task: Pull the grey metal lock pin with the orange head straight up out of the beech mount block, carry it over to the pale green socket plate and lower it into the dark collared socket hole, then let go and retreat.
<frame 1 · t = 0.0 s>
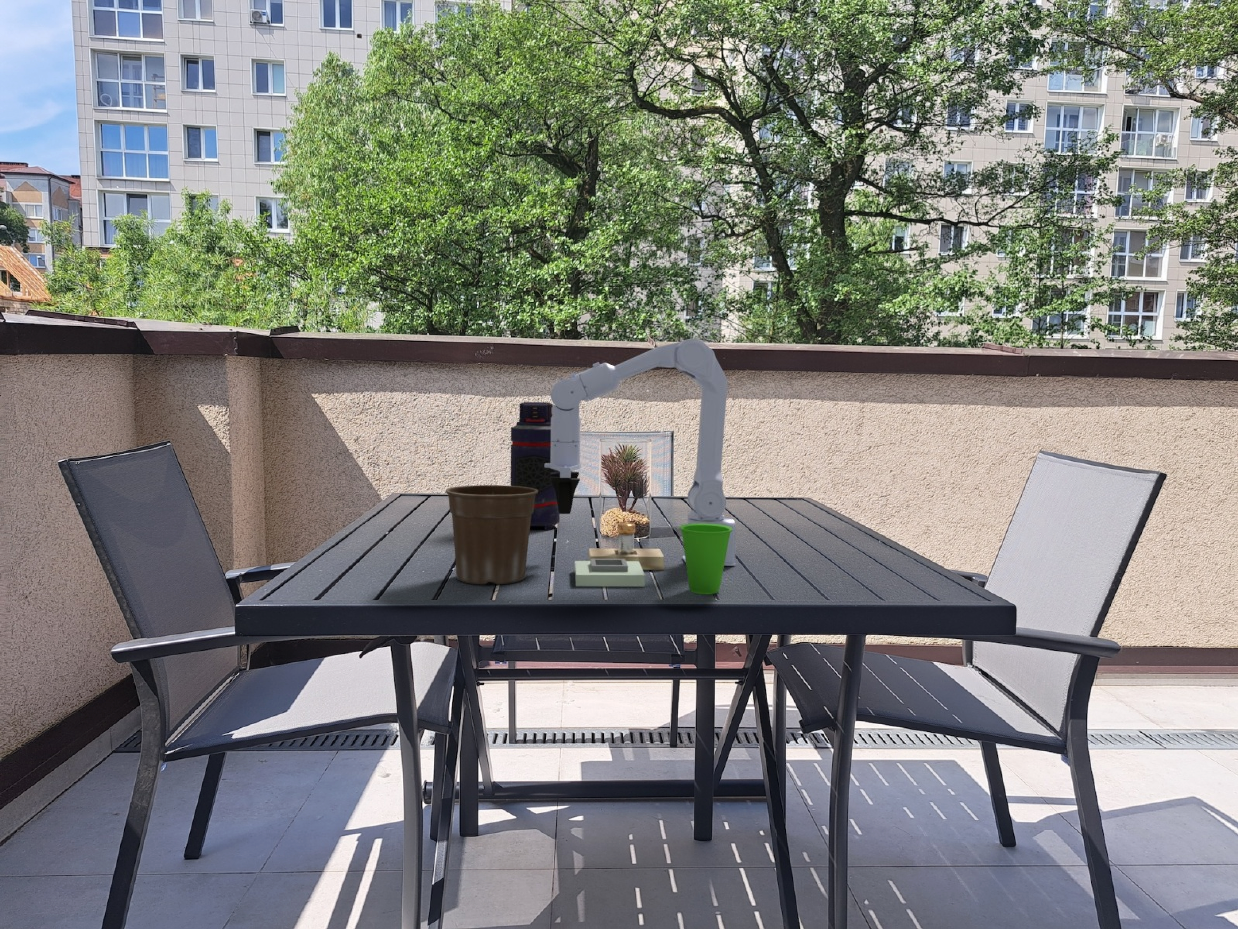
hand: (564, 510, 178), 10 cm above the table, fingers open, 7 cm apart
plant pot: (491, 579, 163), on the table
socket: (608, 578, 164), on the table
pin: (626, 544, 176), in the mount
red-banded navy canister: (535, 526, 220), on the table
cup: (704, 591, 156), on the table
mount: (625, 565, 176), on the table
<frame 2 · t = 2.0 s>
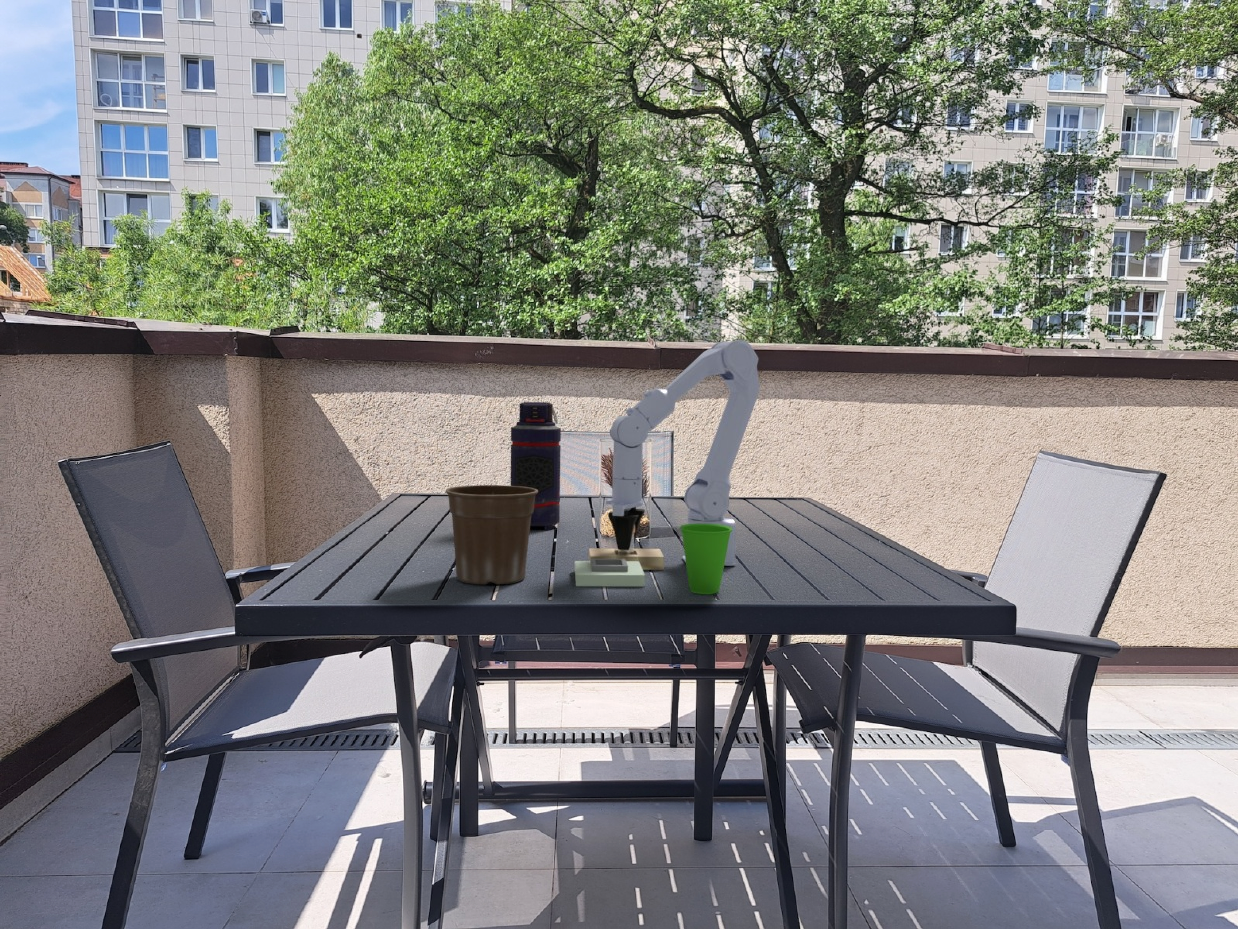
hand: (625, 547, 176), 3 cm above the table, fingers closed on pin, 3 cm apart
pin: (626, 544, 176), in the mount, touching gripper
everything else where it was.
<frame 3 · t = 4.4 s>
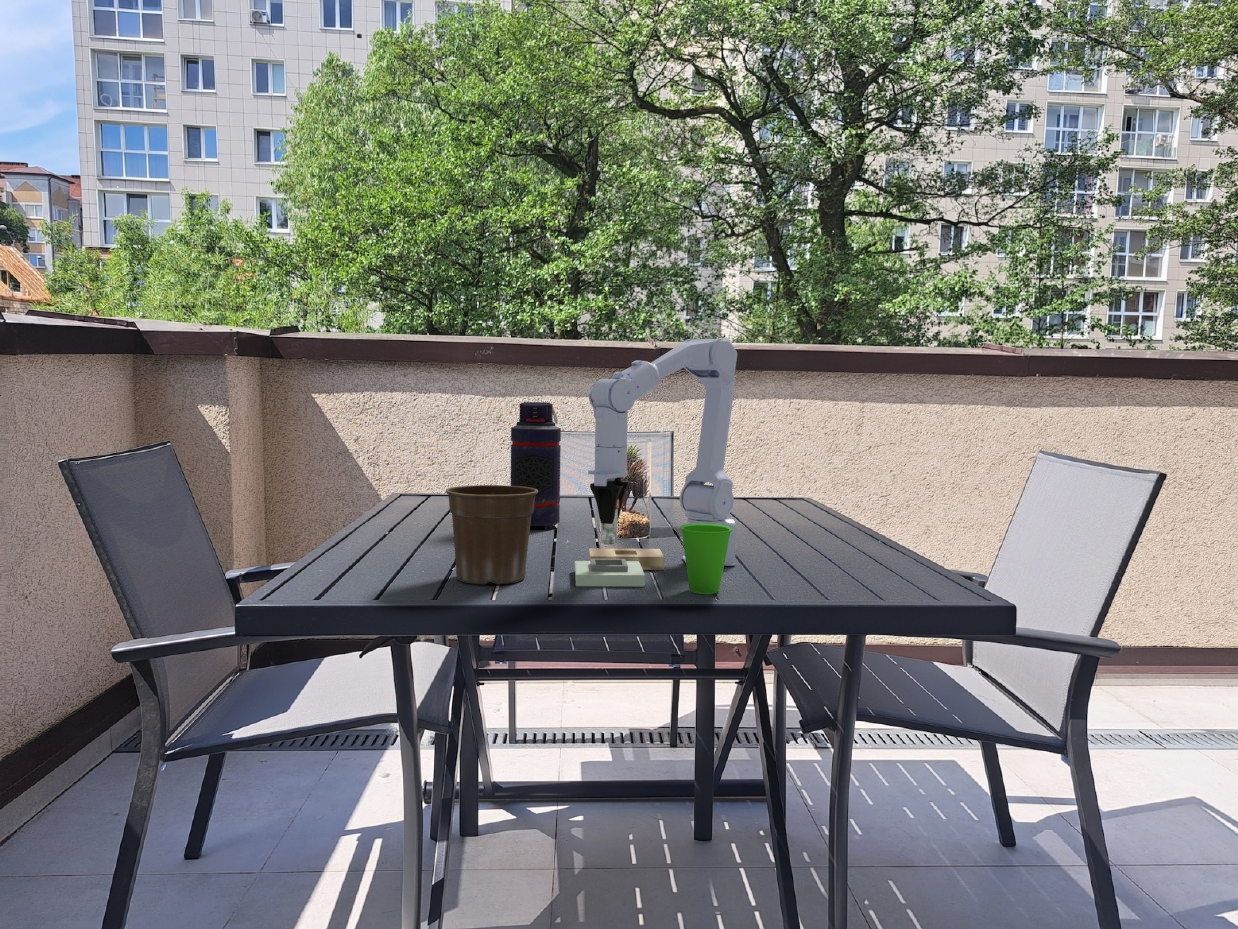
hand: (609, 521, 163), 10 cm above the table, fingers closed on pin, 3 cm apart
pin: (609, 520, 163), point 10 cm above the table, touching gripper
everything else where it was.
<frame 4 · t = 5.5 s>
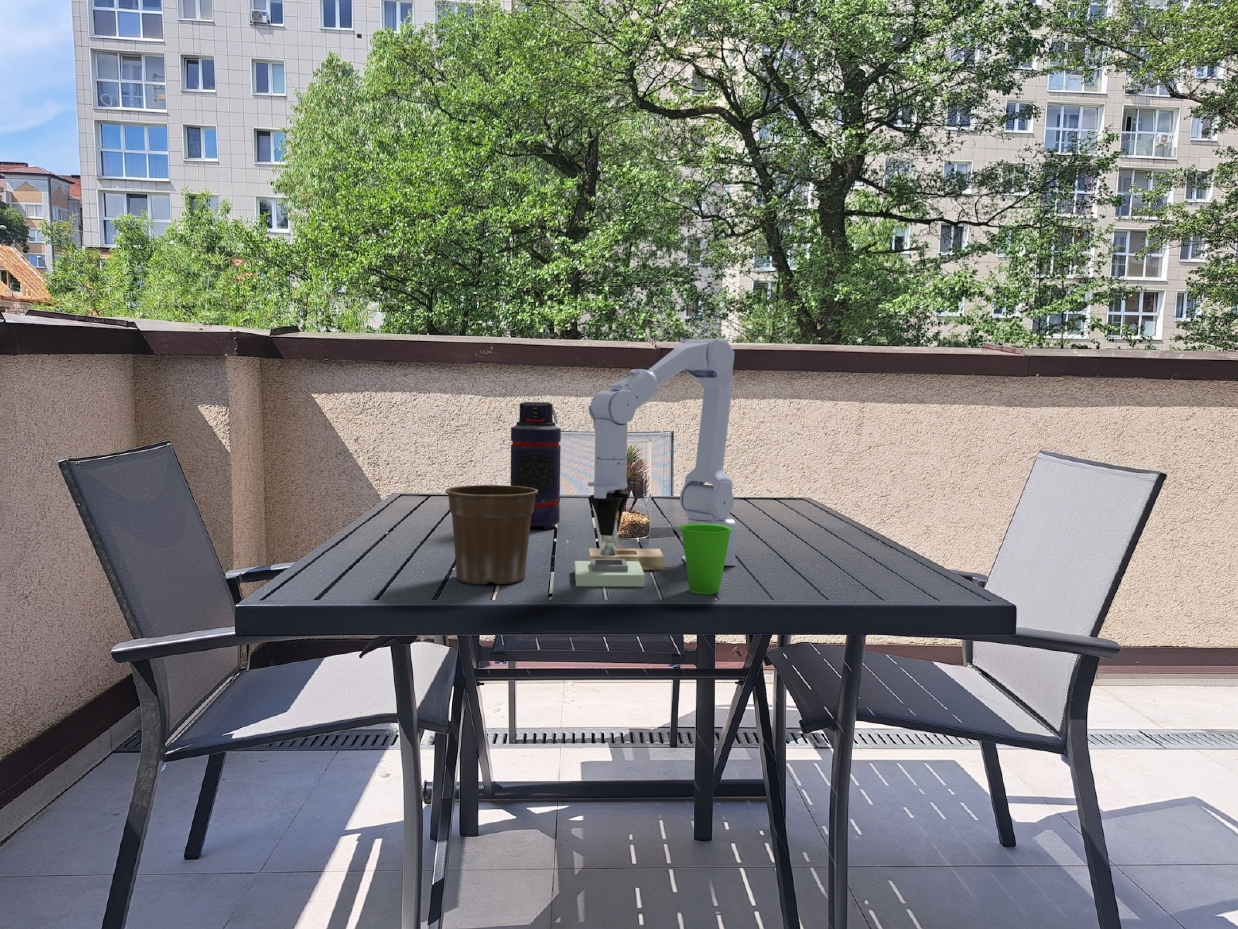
hand: (609, 533, 163), 8 cm above the table, fingers closed on pin, 3 cm apart
pin: (608, 532, 163), point 8 cm above the table, touching gripper
everything else where it was.
when the fingers open (4 cm above the table, at t = 6.7 s): pin stays where it is, resting in socket.
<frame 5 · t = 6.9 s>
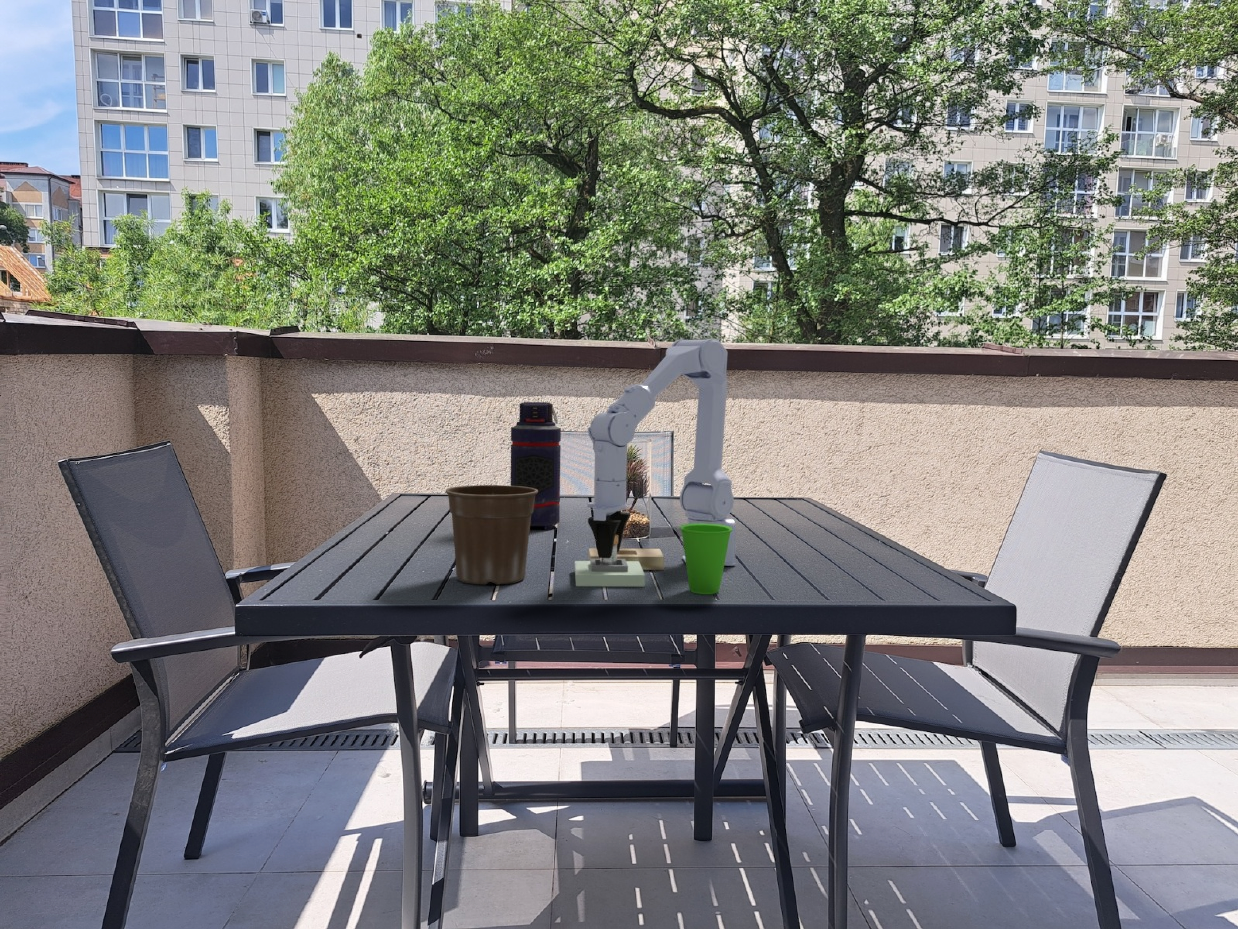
hand: (609, 554, 164), 4 cm above the table, fingers open, 5 cm apart
pin: (608, 556, 164), in the socket
everything else where it was.
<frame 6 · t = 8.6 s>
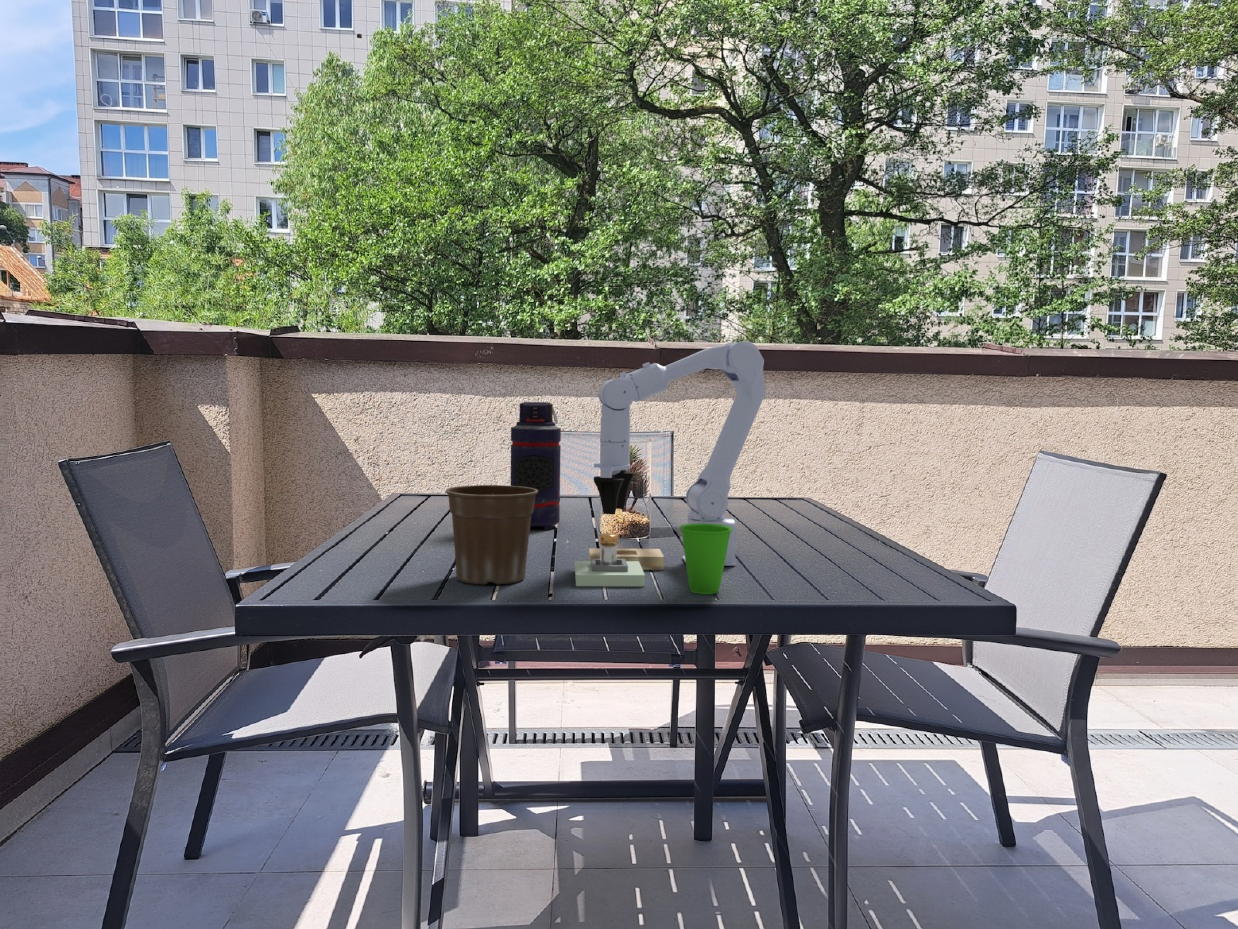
hand: (613, 511, 176), 10 cm above the table, fingers open, 7 cm apart
nothing on the table moved.
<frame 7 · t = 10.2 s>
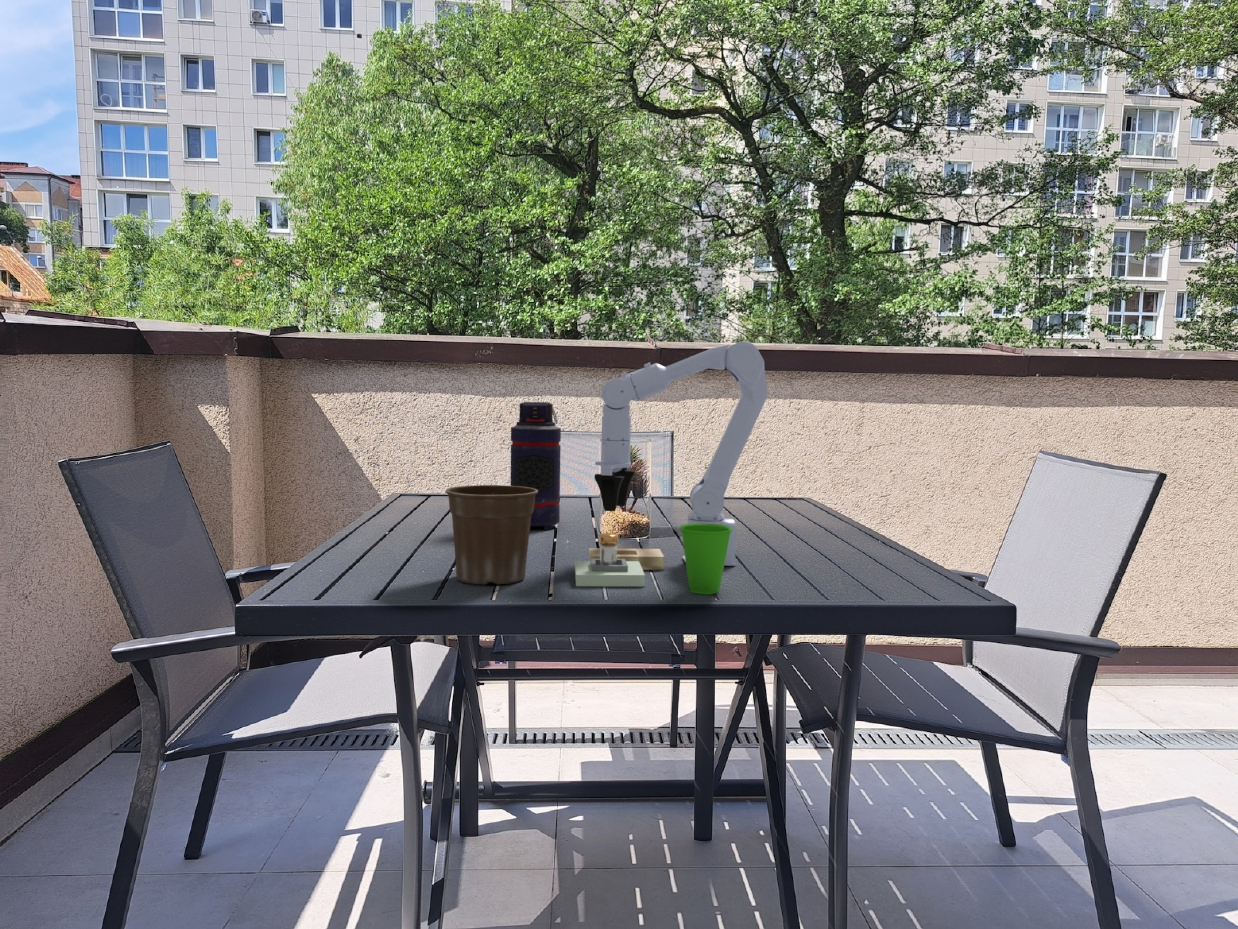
hand: (614, 508, 180), 10 cm above the table, fingers open, 7 cm apart
nothing on the table moved.
at the end: pin 0.3 cm off-centre on the socket, point 4.0 cm above the socket's base; pin tilted 0°; the gripper is holding nothing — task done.
